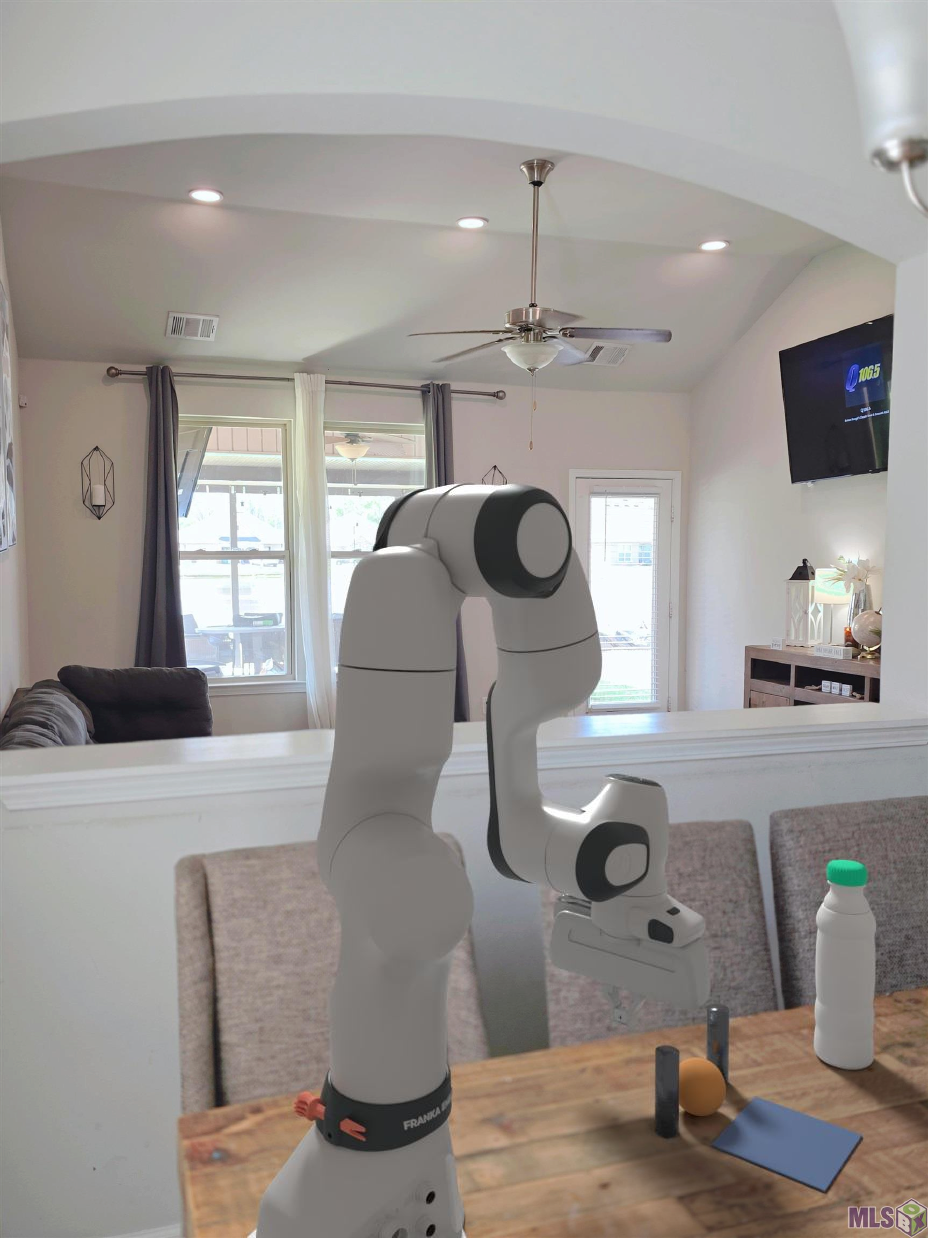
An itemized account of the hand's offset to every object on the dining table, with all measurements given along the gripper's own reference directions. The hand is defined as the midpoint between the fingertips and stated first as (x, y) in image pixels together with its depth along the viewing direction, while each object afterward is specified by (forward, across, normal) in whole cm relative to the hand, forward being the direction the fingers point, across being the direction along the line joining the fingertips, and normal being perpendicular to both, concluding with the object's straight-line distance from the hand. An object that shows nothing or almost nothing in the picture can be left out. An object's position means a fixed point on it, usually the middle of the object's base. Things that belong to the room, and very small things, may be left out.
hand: (623, 1022), depth 113 cm
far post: (+7, +9, +7) cm, 14 cm away
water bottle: (+6, +19, +23) cm, 30 cm away
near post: (+7, +9, -6) cm, 13 cm away
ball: (+4, +10, 0) cm, 11 cm away
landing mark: (+7, +20, +1) cm, 21 cm away
